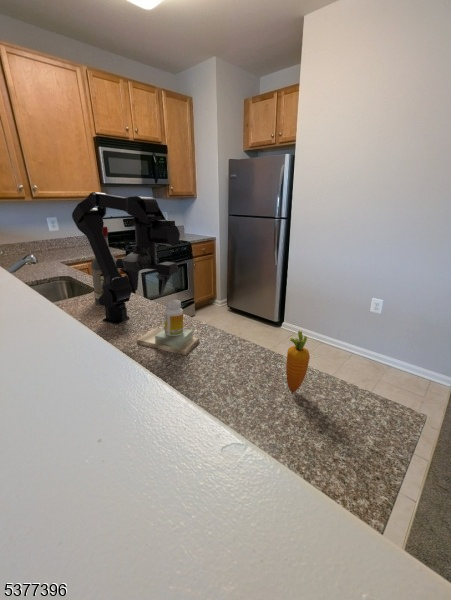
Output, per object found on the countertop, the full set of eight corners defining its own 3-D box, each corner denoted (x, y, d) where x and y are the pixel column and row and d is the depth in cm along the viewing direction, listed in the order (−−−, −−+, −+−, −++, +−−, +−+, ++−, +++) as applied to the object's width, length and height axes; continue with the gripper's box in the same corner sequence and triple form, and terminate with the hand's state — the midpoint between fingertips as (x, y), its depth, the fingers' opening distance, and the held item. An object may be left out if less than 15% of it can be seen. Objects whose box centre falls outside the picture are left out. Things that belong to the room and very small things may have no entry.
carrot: (299, 402, 60) (310, 341, 56) (278, 393, 63) (286, 334, 58) (306, 390, 64) (316, 332, 60) (285, 383, 67) (294, 326, 62)
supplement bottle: (186, 331, 83) (186, 300, 80) (176, 338, 78) (176, 306, 75) (171, 327, 85) (171, 297, 82) (160, 334, 80) (160, 302, 77)
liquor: (98, 298, 116) (91, 225, 106) (121, 298, 118) (116, 226, 108) (94, 306, 107) (86, 227, 98) (119, 305, 110) (113, 228, 100)
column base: (137, 343, 81) (136, 332, 80) (154, 331, 89) (154, 321, 88) (185, 355, 76) (185, 343, 75) (199, 341, 85) (199, 331, 83)
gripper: (100, 241, 76) (105, 294, 82) (157, 248, 71) (159, 305, 76) (126, 238, 86) (129, 285, 92) (179, 244, 81) (179, 294, 86)
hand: (147, 292), depth 86 cm, fingers open, 9 cm apart
